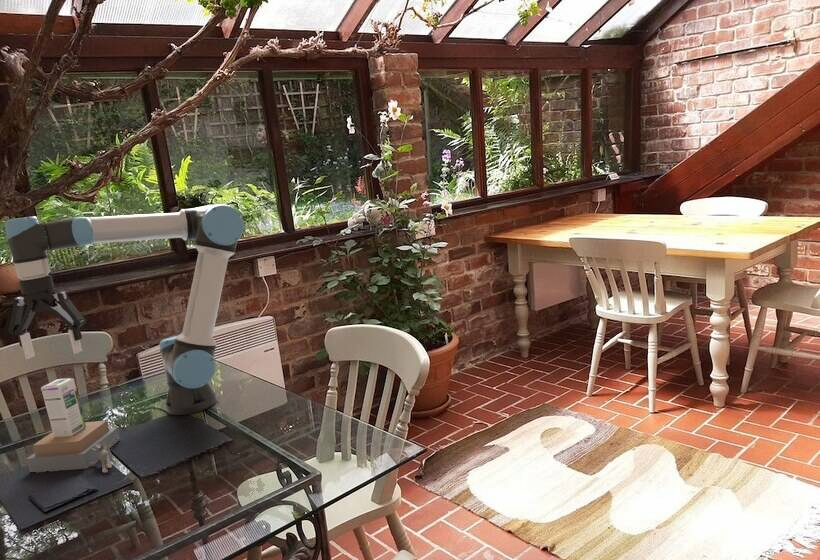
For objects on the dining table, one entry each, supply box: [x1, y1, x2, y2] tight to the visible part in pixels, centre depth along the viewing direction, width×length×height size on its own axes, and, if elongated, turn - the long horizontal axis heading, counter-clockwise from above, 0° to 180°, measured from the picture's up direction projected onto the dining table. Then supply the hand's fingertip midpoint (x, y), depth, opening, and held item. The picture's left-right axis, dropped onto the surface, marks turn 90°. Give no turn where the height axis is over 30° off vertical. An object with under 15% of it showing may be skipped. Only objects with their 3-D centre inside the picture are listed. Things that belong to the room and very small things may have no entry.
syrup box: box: [40, 377, 86, 437], centre depth 168 cm, size 6×6×14 cm
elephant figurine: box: [89, 438, 118, 474], centre depth 161 cm, size 10×6×9 cm
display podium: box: [26, 420, 121, 473], centre depth 170 cm, size 16×16×7 cm
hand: (54, 355), depth 166 cm, fingers open, 13 cm apart
